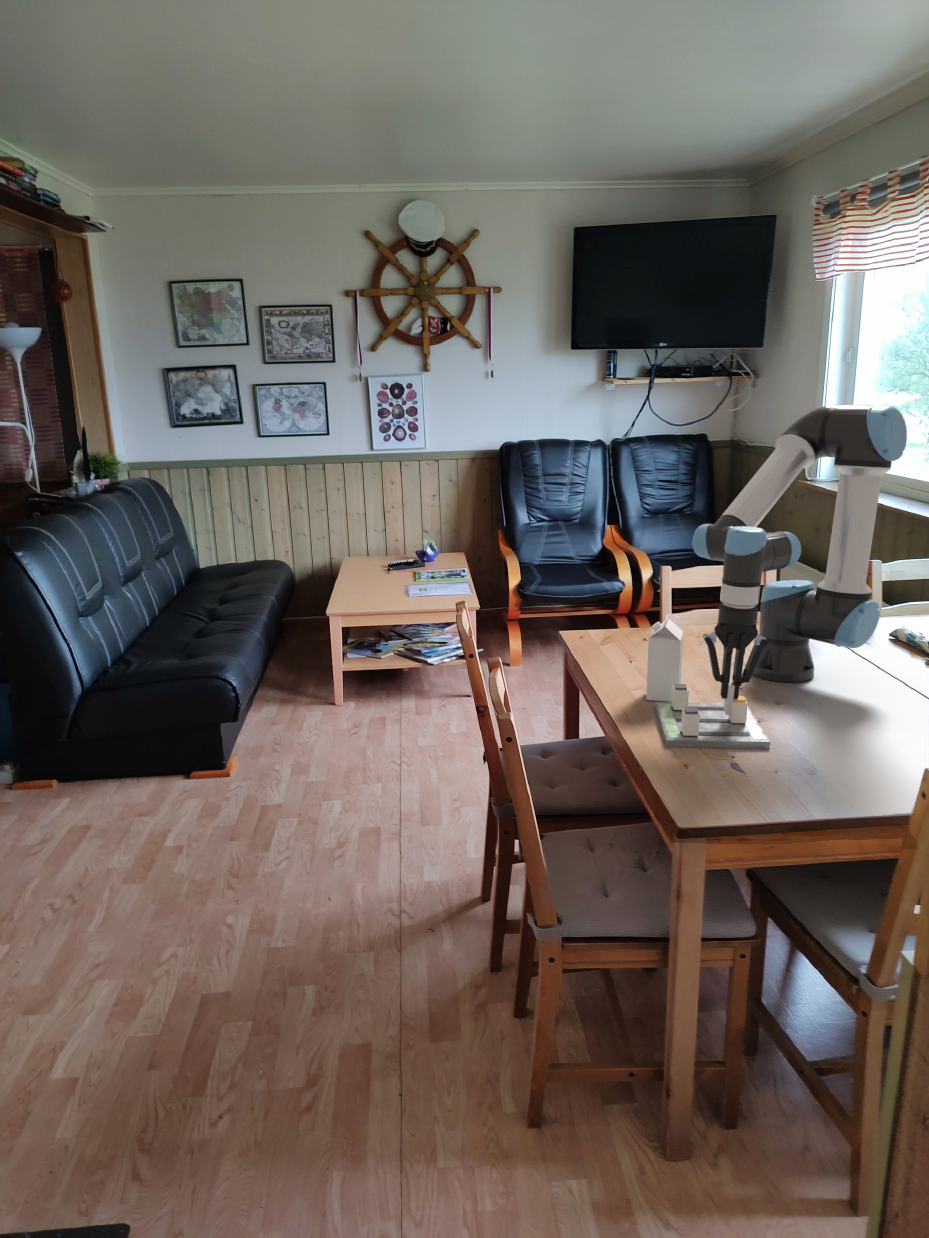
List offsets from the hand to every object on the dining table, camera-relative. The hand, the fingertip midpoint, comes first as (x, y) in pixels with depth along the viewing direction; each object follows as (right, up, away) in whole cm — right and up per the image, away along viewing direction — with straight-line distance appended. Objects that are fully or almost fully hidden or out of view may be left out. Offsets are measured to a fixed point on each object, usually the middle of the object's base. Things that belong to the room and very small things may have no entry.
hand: (727, 712), depth 179 cm
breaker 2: (-9, -3, -5) cm, 11 cm away
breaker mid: (+2, -2, 0) cm, 3 cm away
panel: (-4, -3, +1) cm, 5 cm away
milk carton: (-9, +1, +19) cm, 21 cm away
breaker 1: (-8, 0, +8) cm, 11 cm away
